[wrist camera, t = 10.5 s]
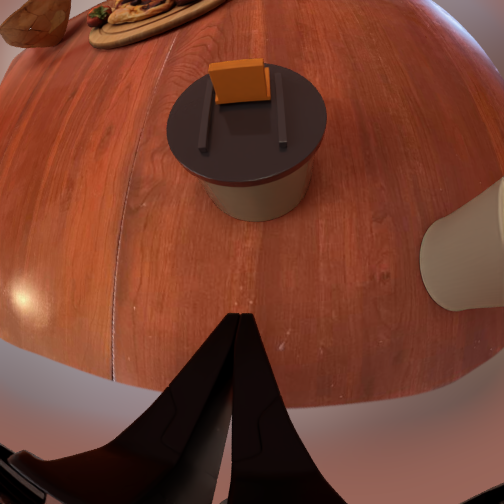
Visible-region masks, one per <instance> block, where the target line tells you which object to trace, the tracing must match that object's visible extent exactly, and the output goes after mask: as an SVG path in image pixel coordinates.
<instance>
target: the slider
mask: <svg viewBox="0 0 504 504" xmlns="http://www.w3.org/2000/svg"><path fill="white" fill-rule="evenodd" d="M208 72H209V75H210V78H211V81H212V84H213V86H214V89H215V92H216V98H215V102H216V104H225V103H235V102H246V101H261V100H271V95H270V76H269V67H265V68H264V60H263V58H256V59H244V60H234V61H225V62H218V63H211V64H209V70H208Z"/></svg>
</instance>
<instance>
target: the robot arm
mask: <svg viewBox="0 0 504 504" xmlns="http://www.w3.org/2000/svg"><path fill="white" fill-rule="evenodd" d="M231 415H232V468H231V469H232V470H231V482H230V489H229V495H228V500H227V504H347V503H346V502H345V501H344V500H343V499H342V498H341V496H339V494H338V493H337V492H336V491H335V490H334V489H333V488H332V487H331V485H330V484H329V483H328V482H327V481H326V480H325V478H324V477H323V476H322V474H321V473H320V471H319V470H318V468H317V467H316V465H315V463H314V462H313V460H312V458H311V456H310V455H309V453H308V451H307V450H306V448H305V446H304V444H303V443H302V441H301V439H300V438H299V435H298V434H297V432H296V430H295V428H294V426H293V424H292V422H291V420H290V418H289V415H288V413H287V410H286V408H285V405H284V402H283V399H282V396H280V391H279V388H278V385H277V383H276V380H275V377H274V374H273V371H272V368H271V365H270V362H269V360H268V357H267V354H266V351H265V348H264V345H263V342H262V339H261V336H260V333H259V330H258V327H257V324H256V321H255V318H254V315H253V314H252V313H242V314H241V315H240V314H239V313H228V314H227V315H226V316H225V317H224V318H223V319H222V321H221V322H220V323H219V324H218V326H217V327H216V328H215V329H214V331H213V332H212V333H211V334H210V336H209V337H208V338H207V339H206V340H205V342H204V343H203V344H202V345H201V347H200V348H199V349H198V350H197V352H196V353H195V354H194V355H193V356H192V358H191V359H190V360H189V361H188V362H187V364H186V365H185V366H184V367H183V369H182V370H181V371H180V372H179V373H178V375H177V376H176V377H175V378H174V379H173V381H172V382H171V383H170V384H169V387H167V388H166V389H165V390H164V391H163V392H162V394H161V395H160V396H159V397H158V398H157V399H156V400H155V402H154V403H153V404H152V405H151V406H150V407H149V408H148V409H147V410H146V411H145V412H144V413H143V414H142V415H141V416H140V417H138V418H137V419H136V420H135V421H134V422H133V423H132V424H131V425H130V426H129V427H127V428H126V429H125V430H124V431H123V432H122V433H121V434H120V435H118V436H117V437H116V438H115V439H114V440H112V441H111V442H109V443H108V444H106V445H104V446H102V447H100V448H97V449H94V450H91V451H87V452H84V453H80V454H76V455H73V456H69V457H64V458H61V459H56V460H50V461H45V460H43V459H41V458H39V457H37V456H36V455H34V454H32V453H30V452H28V451H26V450H22V451H19V452H17V453H15V452H13V451H12V450H10V449H8V448H7V447H5V446H4V445H2V444H1V443H0V504H212V500H213V496H214V492H215V487H216V483H217V478H218V474H219V469H220V465H221V460H222V456H223V452H224V447H225V442H226V438H227V434H228V429H229V424H230V420H231ZM460 504H504V483H502V484H500V485H497V486H495V487H492V488H490V489H488V490H486V491H484V492H482V493H481V494H478V495H476V496H474V497H472V498H470V499H468V500H466V501H464V502H462V503H460Z"/></svg>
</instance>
